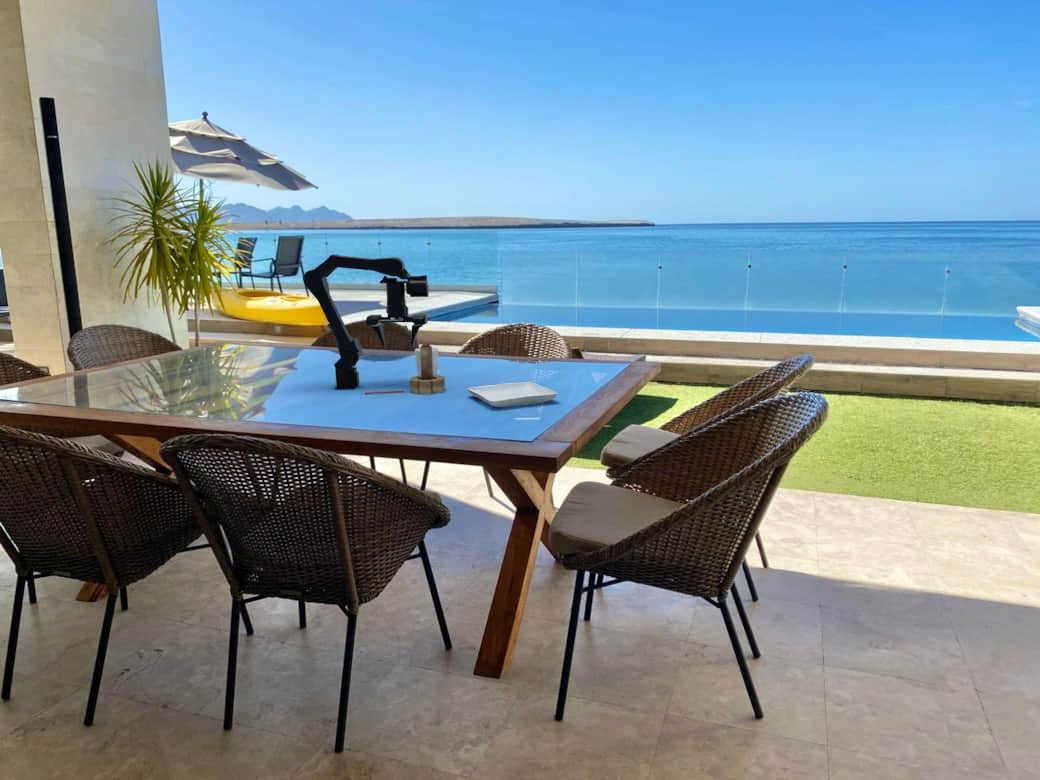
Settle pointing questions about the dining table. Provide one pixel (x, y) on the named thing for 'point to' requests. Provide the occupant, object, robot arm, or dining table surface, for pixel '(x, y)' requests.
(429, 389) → the tan segmented ring
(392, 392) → the brick-red rectangular plank
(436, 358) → the white cup
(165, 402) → the dining table surface
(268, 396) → the dining table surface
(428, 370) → the tall brown cylinder
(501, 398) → the salad plate
